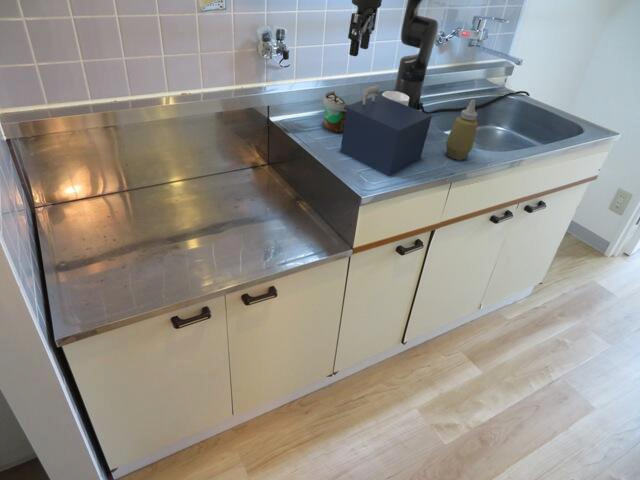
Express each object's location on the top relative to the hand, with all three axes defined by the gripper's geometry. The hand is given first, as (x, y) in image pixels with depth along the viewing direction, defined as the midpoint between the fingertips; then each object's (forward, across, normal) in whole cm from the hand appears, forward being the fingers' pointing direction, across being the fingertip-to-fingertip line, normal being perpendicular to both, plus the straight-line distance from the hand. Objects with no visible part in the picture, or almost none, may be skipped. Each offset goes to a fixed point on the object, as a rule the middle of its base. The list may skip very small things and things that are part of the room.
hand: (358, 52), depth 126 cm
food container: (+29, +11, +9) cm, 32 cm away
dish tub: (+28, +2, -11) cm, 31 cm away
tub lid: (+15, +2, -11) cm, 19 cm away
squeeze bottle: (+29, +16, -32) cm, 46 cm away
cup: (+29, +21, -8) cm, 36 cm away
